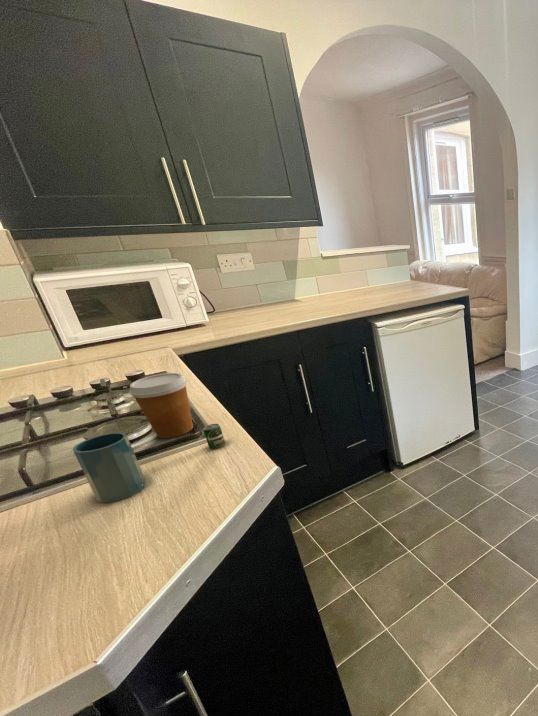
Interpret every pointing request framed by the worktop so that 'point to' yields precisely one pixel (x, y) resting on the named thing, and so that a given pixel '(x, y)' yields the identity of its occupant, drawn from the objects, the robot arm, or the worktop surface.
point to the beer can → (214, 436)
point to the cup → (110, 466)
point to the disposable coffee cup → (164, 403)
